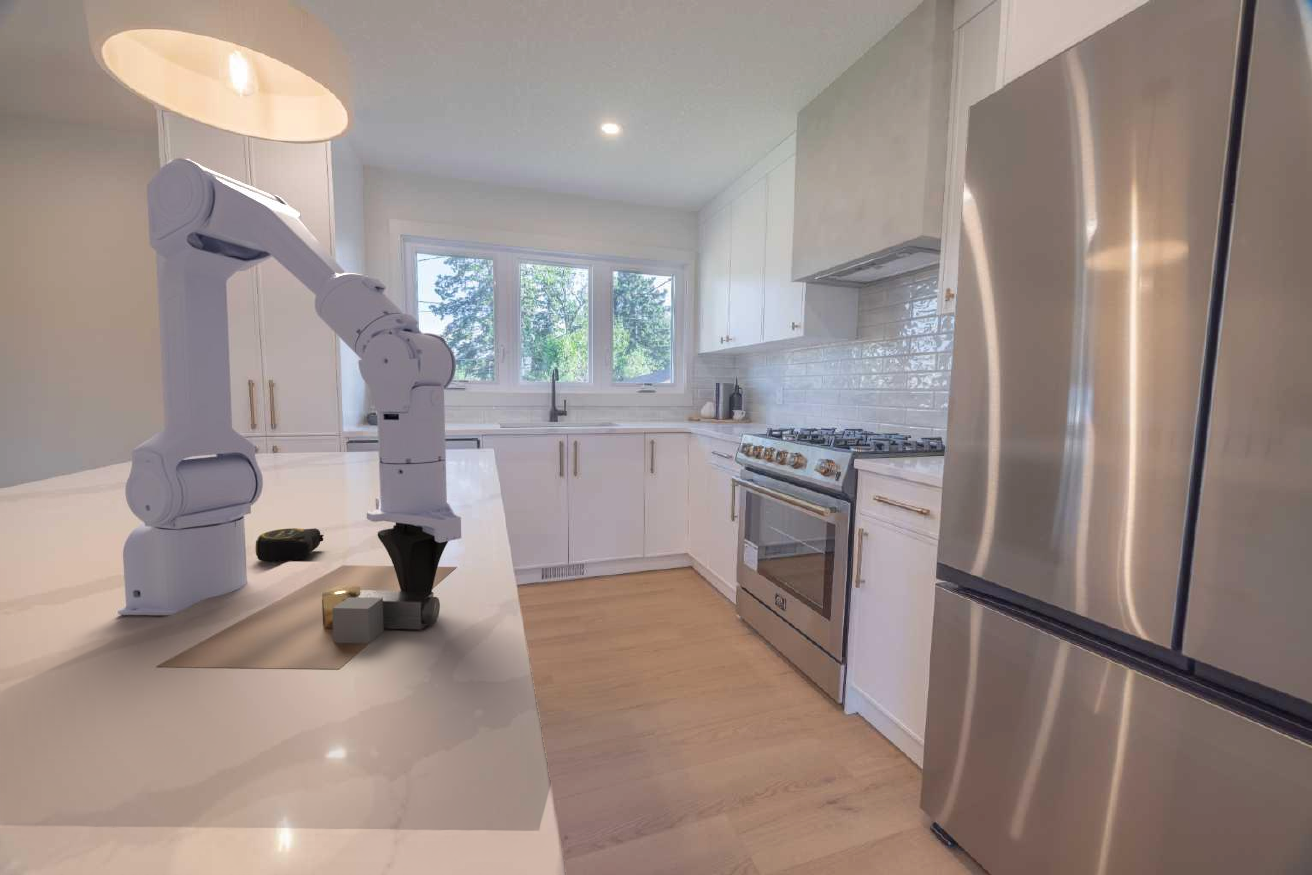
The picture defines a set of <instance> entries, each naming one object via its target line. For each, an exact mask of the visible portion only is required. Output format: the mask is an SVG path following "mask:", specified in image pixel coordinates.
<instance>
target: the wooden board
mask: <svg viewBox="0 0 1312 875" xmlns="http://www.w3.org/2000/svg"><path fill="white" fill-rule="evenodd" d="M457 568H458V566H438V567H437V571H436V575H435V579H434V584H433V588H432V590H433V589H434V588H435V587H436V586H437V585H439V583H441V582H442V581H443V580H445V578H447V577H448V576H449V575H450V574H451V573H452V572H454V571H455V570H456V569H457ZM346 585H354V586H359V587H360V590H379V591H401V589H400V586H399V582H398V578H397V575H396V572H395V568H394V565H347V564H346V565H343V564H342V565H341V566H339V567H337V568H335V569H333V570H331V571H329V572H328V573H326V574H324V575H322V576H320V577H319V578H316V579H315V580H313V581H311V582H309V583H308V584H306V585H304V586H302V587H300V588H298V589H296V590H295V591H293V592H291V593H289V594H287V595H286V596H283V597H282V598H280V599H278V600H276V601H274V602H272V603H270V604H269V605H267V606H265V607H263V608H261V609H260V610H258V611H256V612H254V613H252V614H251V615H248V616H246V617H245V618H242V619H241V620H238V621H237V622H236V623H233V624H232V625H230V626H228V627H226V628H224V629H223V630H221V631H219V632H217V633H215V634H213V635H212V636H210V637H208V638H205V639H204V640H202V641H200V642H198V643H197V644H195V645H193V646H191V647H189V648H188V649H187V648H186V650H184V651H182V652H180V653H178V654H176V655H174V656H172V657H171V658H169V659H167V660H165V661H163V662H162V663H160V664H158V665H156V666H155V668H180V669H181V668H187V669H188V668H191V669H192V668H195V669H198V668H199V669H200V668H201V669H267V670H268V669H269V670H270V669H271V670H273V669H274V670H276V669H278V670H340V669H342V667H344V666H345V665H346V664H347V663H348V662H349V661H350V660H352V659H353V658H355V657H356V656H357V655H358V654H359V653H360V652H361V651H362V650H363V649H365V648H366V647H367V646H368V645H369V644H370V643H334V642H333V628H327V627H325V626H323V612H322V593H323V592H324V591H326V590H328V589H331V588H334V587H339V586H346ZM386 629H387V628H384V631H386ZM384 631H382V632H381V633H380V634H379V635H378V636H380V635H381V634H382V633H383V632H384ZM376 638H377V637H375V638H374V639H373V640H372V641H371V642H373V641H374V640H375V639H376Z"/></svg>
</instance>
